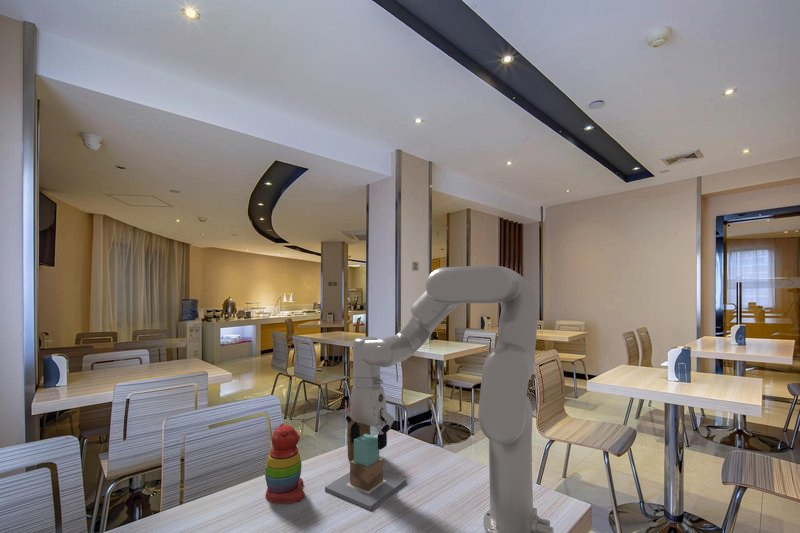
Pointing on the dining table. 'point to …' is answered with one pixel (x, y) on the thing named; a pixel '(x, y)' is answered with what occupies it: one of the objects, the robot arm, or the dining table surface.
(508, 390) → the robot arm
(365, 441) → the teal block
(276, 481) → the stacking bear
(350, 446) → the brown rounded lumpy part
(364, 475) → the walnut cube
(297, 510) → the dining table surface
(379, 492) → the plate
